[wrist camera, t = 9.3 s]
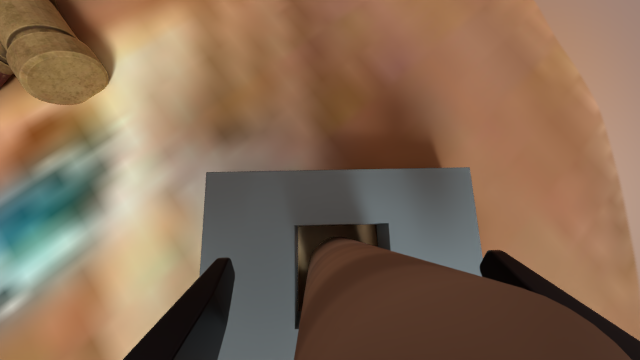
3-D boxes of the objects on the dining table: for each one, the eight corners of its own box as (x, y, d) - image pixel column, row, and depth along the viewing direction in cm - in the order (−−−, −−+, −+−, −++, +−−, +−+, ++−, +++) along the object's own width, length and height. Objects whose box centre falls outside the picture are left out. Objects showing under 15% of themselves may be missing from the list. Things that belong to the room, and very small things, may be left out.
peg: (380, 267, 17) (800, 515, 2) (338, 312, 16) (546, 1035, 2) (338, 224, 17) (463, 201, 3) (297, 266, 17) (175, 518, 2)
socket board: (467, 361, 16) (501, 390, 13) (214, 370, 16) (191, 402, 13) (444, 177, 18) (469, 167, 15) (224, 181, 18) (206, 172, 15)
